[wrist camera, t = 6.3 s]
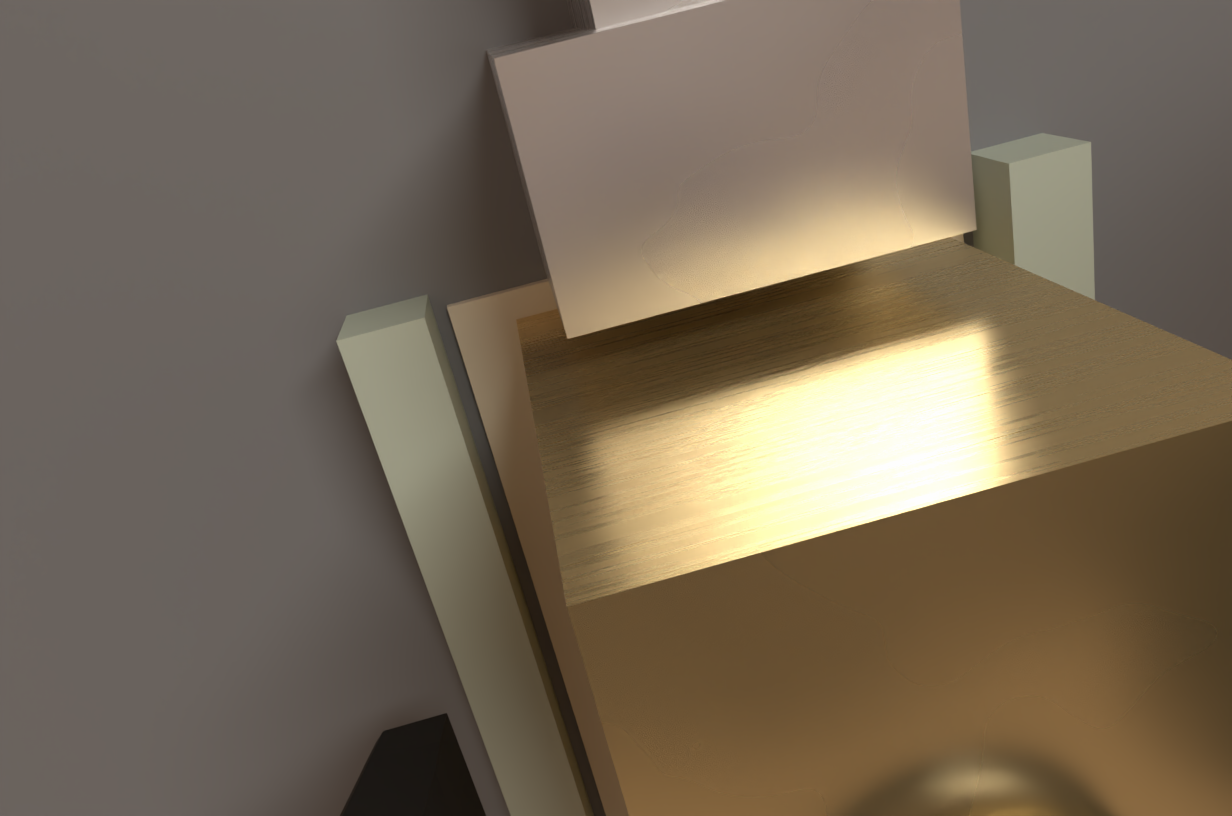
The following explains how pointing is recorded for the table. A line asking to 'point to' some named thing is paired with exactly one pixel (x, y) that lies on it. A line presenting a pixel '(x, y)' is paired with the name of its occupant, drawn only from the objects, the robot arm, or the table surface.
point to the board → (401, 372)
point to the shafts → (733, 144)
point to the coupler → (897, 546)
